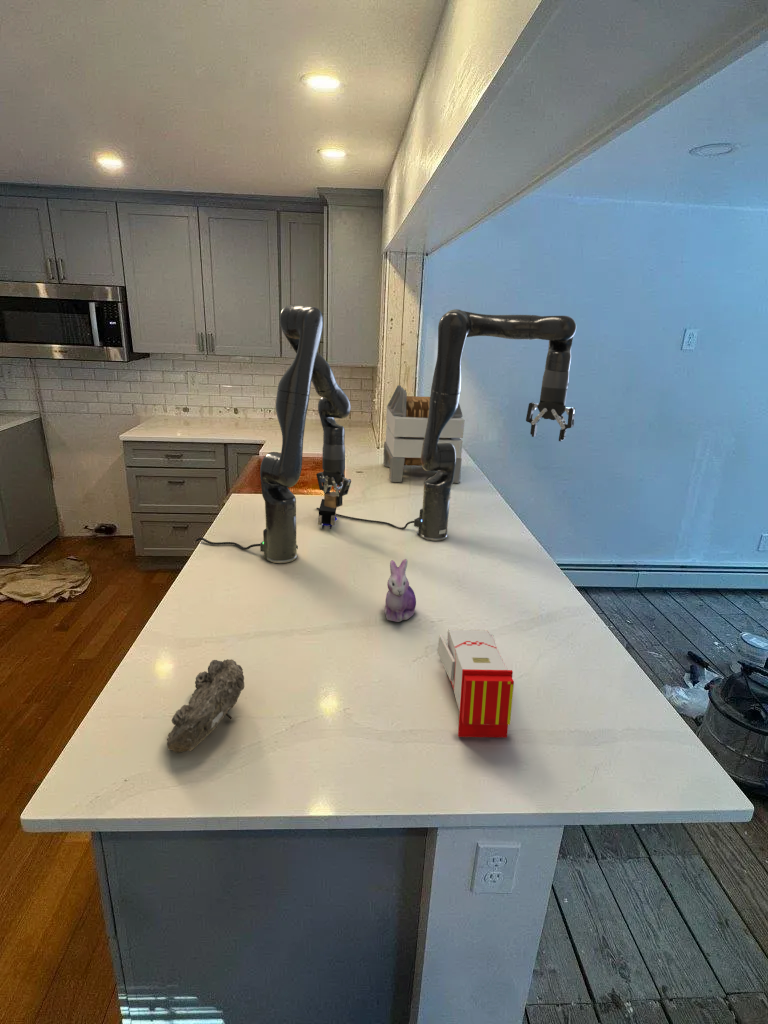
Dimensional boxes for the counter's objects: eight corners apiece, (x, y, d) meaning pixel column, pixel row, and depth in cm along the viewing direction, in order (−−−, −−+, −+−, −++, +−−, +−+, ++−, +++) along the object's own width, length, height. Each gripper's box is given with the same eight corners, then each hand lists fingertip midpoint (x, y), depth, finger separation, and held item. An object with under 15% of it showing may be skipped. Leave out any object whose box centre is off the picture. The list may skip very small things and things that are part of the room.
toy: (488, 613, 130) (523, 677, 101) (484, 667, 133) (517, 744, 104) (435, 612, 130) (455, 676, 101) (432, 666, 133) (451, 743, 103)
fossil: (192, 660, 117) (244, 628, 112) (224, 691, 120) (276, 661, 115) (142, 746, 98) (202, 712, 93) (182, 779, 101) (242, 748, 96)
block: (324, 505, 194) (324, 494, 193) (332, 502, 198) (333, 491, 196) (334, 508, 192) (334, 496, 191) (342, 505, 196) (342, 493, 194)
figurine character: (335, 535, 199) (338, 516, 213) (336, 516, 196) (338, 497, 209) (316, 534, 199) (320, 515, 213) (316, 515, 196) (320, 497, 209)
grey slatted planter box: (382, 463, 289) (386, 382, 275) (445, 464, 293) (451, 384, 279) (390, 482, 257) (394, 392, 243) (460, 483, 261) (468, 394, 247)
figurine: (392, 627, 141) (395, 572, 136) (374, 608, 149) (376, 556, 144) (425, 619, 145) (429, 566, 140) (405, 601, 154) (408, 550, 149)
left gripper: (310, 454, 190) (310, 502, 196) (343, 462, 182) (342, 512, 188) (325, 450, 196) (324, 497, 201) (357, 457, 188) (356, 506, 194)
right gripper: (527, 384, 171) (520, 437, 176) (574, 389, 164) (566, 444, 169) (536, 382, 177) (529, 433, 182) (582, 387, 169) (573, 440, 175)
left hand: (333, 504), depth 195 cm, fingers closed on block, 4 cm apart
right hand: (547, 438), depth 176 cm, fingers open, 8 cm apart
